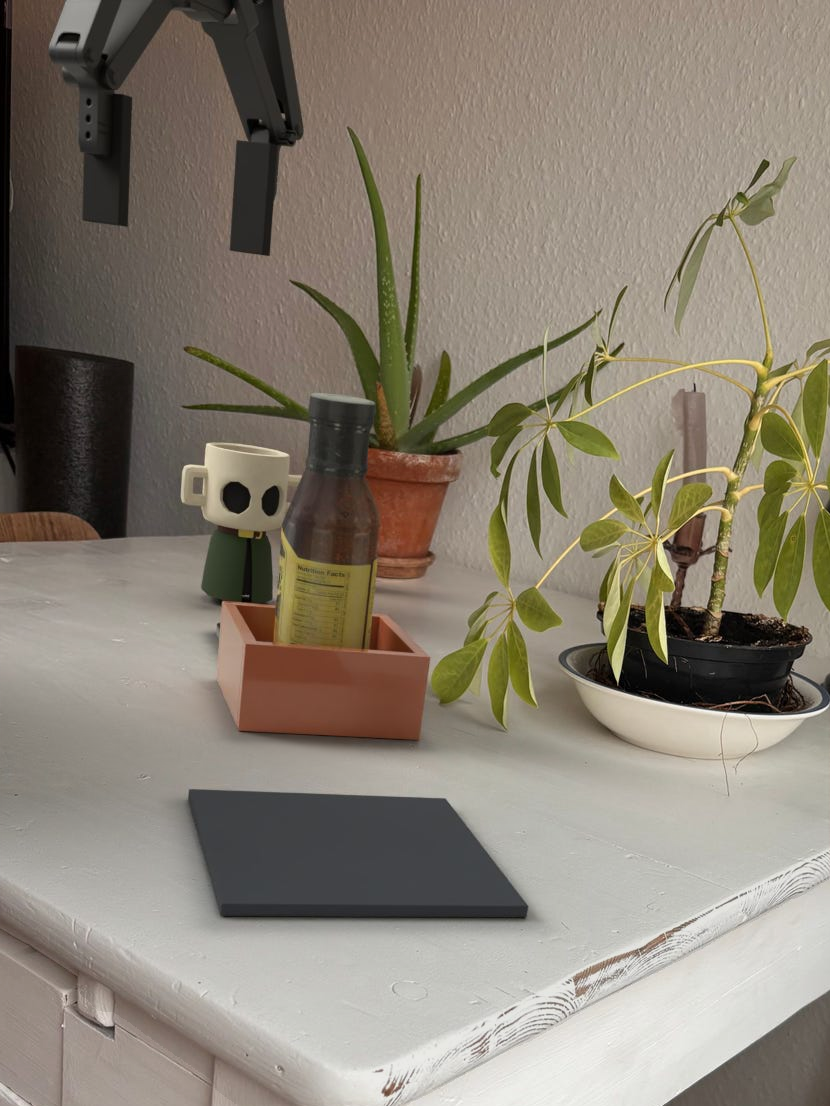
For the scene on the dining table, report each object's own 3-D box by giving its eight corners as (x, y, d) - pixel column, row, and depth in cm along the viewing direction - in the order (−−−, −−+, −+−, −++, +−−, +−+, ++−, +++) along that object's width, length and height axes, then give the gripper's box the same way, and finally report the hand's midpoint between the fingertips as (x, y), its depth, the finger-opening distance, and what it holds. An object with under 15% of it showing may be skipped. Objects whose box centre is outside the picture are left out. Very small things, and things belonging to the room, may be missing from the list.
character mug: (184, 607, 108) (194, 447, 103) (165, 588, 114) (174, 436, 109) (307, 614, 113) (323, 461, 108) (283, 595, 119) (297, 450, 114)
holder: (238, 731, 79) (245, 643, 77) (216, 679, 89) (221, 600, 87) (419, 740, 83) (430, 657, 81) (378, 689, 93) (387, 614, 91)
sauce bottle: (301, 689, 90) (331, 390, 83) (378, 711, 88) (416, 406, 80) (246, 705, 84) (273, 386, 77) (327, 729, 82) (362, 403, 75)
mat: (220, 916, 55) (221, 903, 54) (187, 799, 67) (188, 788, 67) (526, 917, 59) (528, 905, 59) (444, 808, 72) (445, 797, 71)
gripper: (95, -292, 59) (83, 215, 67) (378, -99, 81) (344, 269, 88) (-23, -284, 62) (-22, 201, 70) (279, -100, 83) (255, 257, 91)
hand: (182, 240), depth 79 cm, fingers open, 13 cm apart
